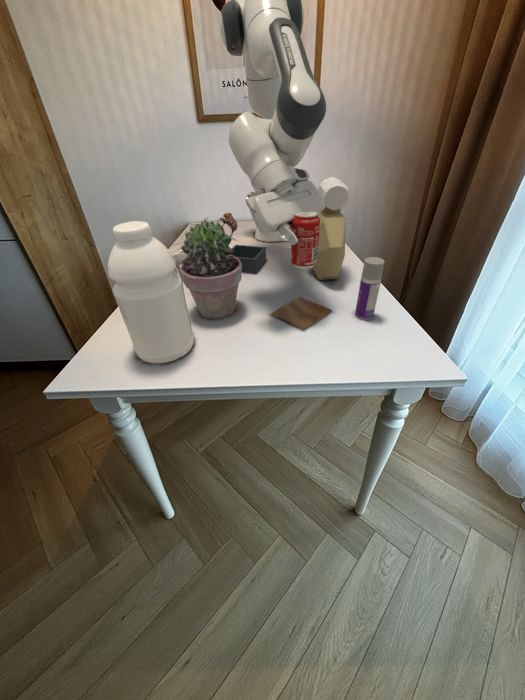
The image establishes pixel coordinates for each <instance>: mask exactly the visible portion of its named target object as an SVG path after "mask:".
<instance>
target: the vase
mask: <svg viewBox="0 0 525 700" xmlns="http://www.w3.org/2000/svg"><path fill="white" fill-rule="evenodd" d="M317 190H318V191H319V193H320V195H321V196H322V198H323V200H324V203H325V208H324V210H323V211H322V212H321V213H320V214H319V215H318V217H319V218H320V233H319V244H318V257H317V263H316V264H315V265H314V266H313V267H312V270H313V271H314V273H315V275H316V278H317V279H318V280H320V281H327V280H329V281H330V280H331V281H332V280H337V279H338V278H339V276H340V272H341V269H342V266H343V263H344V260H345V256H346V221H347V218H346V217H345V216H344V215H343V214H342V212H341V210H342V209H343V207H345V206H346V205H347V203H348V201H349V187H348V186H347V185H346V184H345V183H344V182H343V181H342V180H341V179H339V178H336V177H335V176H330V177H328V178H326V179H324V180H323V181H321V183H320V184H319V185H318V188H317Z"/></svg>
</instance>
